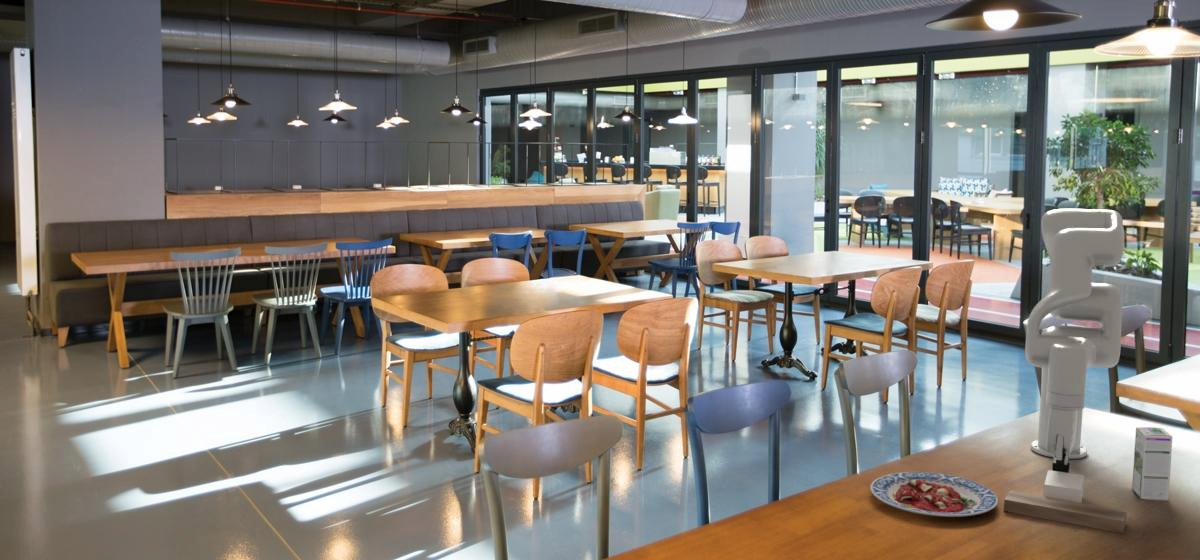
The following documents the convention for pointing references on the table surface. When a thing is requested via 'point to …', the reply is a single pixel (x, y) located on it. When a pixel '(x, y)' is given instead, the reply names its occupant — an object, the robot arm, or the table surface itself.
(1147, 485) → the syrup box
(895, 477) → the ceramic plate
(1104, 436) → the table surface
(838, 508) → the table surface
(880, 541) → the table surface
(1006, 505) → the plank
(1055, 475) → the block
